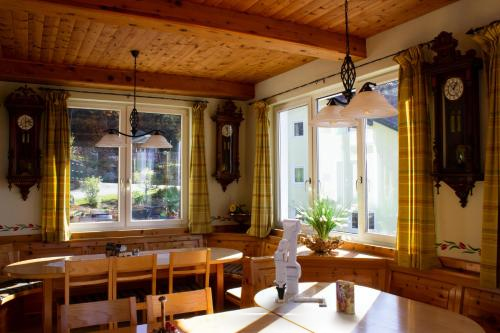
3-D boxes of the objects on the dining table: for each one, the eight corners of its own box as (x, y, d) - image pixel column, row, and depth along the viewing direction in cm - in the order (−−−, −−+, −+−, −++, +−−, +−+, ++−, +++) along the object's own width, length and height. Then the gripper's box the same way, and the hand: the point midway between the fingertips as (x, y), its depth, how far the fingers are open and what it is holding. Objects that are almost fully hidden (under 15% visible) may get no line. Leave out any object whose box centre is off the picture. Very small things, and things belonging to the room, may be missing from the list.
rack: (292, 299, 240) (292, 294, 240) (324, 299, 238) (324, 294, 238) (292, 306, 228) (292, 300, 228) (326, 306, 226) (326, 301, 226)
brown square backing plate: (275, 300, 239) (275, 298, 239) (288, 300, 238) (287, 298, 238) (274, 304, 231) (274, 302, 231) (287, 304, 230) (287, 303, 230)
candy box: (355, 312, 215) (354, 282, 216) (350, 314, 213) (349, 283, 213) (341, 308, 222) (340, 279, 223) (336, 310, 219) (335, 280, 220)
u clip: (278, 299, 238) (277, 291, 238) (285, 299, 237) (285, 291, 237) (277, 302, 232) (277, 293, 232) (285, 302, 232) (284, 293, 232)
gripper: (274, 269, 243) (274, 293, 242) (273, 275, 228) (273, 301, 228) (286, 269, 242) (287, 294, 242) (286, 275, 227) (286, 301, 227)
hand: (281, 297), depth 235 cm, fingers open, 7 cm apart
